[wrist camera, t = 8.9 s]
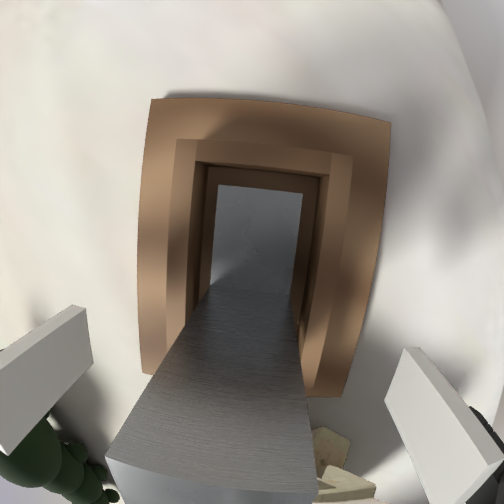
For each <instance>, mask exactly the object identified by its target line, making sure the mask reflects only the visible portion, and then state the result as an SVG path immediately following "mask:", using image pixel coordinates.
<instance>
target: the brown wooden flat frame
mask: <svg viewBox="0 0 504 504" xmlns="http://www.w3.org/2000/svg"><path fill="white" fill-rule="evenodd" d="M390 133H391V123H390V122H386V121H382V120H378V119H374V118H369V117H365V116H360V115H356V114H351V113H346V112H340V111H335V110H329V109H323V108H317V107H310V106H303V105H296V104H288V103H279V102H269V101H257V100H243V99H223V98H165V99H151V105H150V111H149V118H148V125H147V132H146V139H145V147H144V156H143V165H142V175H141V187H140V201H139V218H138V244H137V296H138V323H139V339H140V353H141V364H142V373H145V374H150V375H154V374H155V372H156V370H157V369H158V367H159V366H160V364H161V362H162V361H163V359H164V358H165V356H166V354H167V353H168V351H169V350H170V348H171V346H172V345H173V343H174V342H175V340H176V338H177V337H178V335H179V334H180V332H181V330H182V329H183V327H184V326H185V324H186V323H187V321H188V319H189V318H190V316H191V315H192V313H193V311H194V310H195V308H196V307H197V305H198V304H199V302H200V301H201V299H202V297H203V296H204V294H205V293H206V291H207V290H208V288H209V286H210V280H211V266H212V252H213V240H214V228H215V217H216V206H217V195H218V185H227V186H238V187H248V188H258V189H267V190H276V191H285V192H293V193H301V194H303V197H302V206H301V214H300V222H299V230H298V238H297V246H296V253H295V260H294V267H293V275H292V281H291V288H290V301H291V307H292V312H293V318H294V324H295V330H296V336H297V342H298V348H299V354H300V361H301V367H302V373H303V380H304V386H305V393H306V397H341V395H342V392H343V389H344V386H345V383H346V380H347V376H348V373H349V370H350V367H351V363H352V360H353V357H354V353H355V350H356V346H357V342H358V339H359V335H360V331H361V327H362V323H363V319H364V315H365V311H366V307H367V302H368V298H369V294H370V289H371V284H372V279H373V274H374V269H375V264H376V258H377V253H378V247H379V241H380V234H381V228H382V221H383V213H384V205H385V197H386V188H387V177H388V166H389V152H390Z"/></svg>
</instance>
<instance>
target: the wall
mask: <svg viewBox="0 0 504 504" xmlns="http://www.w3.org/2000/svg"><path fill="white" fill-rule="evenodd" d="M311 435H312V442H313V450H314V457H315V465H316V473H317V482H318V490H319V493H318V494H317V496H316V498H315V499H314V501H313V503H312V504H390V503H387V502H381V501H379V500H376V499H374V494H375V491H376V486H375V484H373V483H372V482H370V481H366V480H365V479H363V478H361V477H358V476H357V475H354V474H352V473H350V472H348V471H344V470H343V466H344V463H345V460H346V457H347V453H348V450H349V447H350V441H349V440H348V439H347V438H345V437H343V436H341V435H339V434H337V433H336V432H334V431H331V430H330V429H328V428H326V427H324V426H323V427H319V428H316V429H314V430H311Z"/></svg>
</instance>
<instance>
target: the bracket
mask: <svg viewBox="0 0 504 504" xmlns="http://www.w3.org/2000/svg"><path fill="white" fill-rule="evenodd" d="M302 197H303V194H301V193H293V192H285V191H276V190H267V189H258V188H248V187H238V186H227V185H218V195H217V206H216V217H215V228H214V240H213V252H212V266H211V280H210V286H209V288H208V290H207V291H206V293H205V294H204V296H203V297H202V299H201V301H200V302H199V304H198V305H197V307H196V308H195V310H194V311H193V313H192V315H191V316H190V318H189V319H188V321H187V323H186V324H185V326H184V327H183V329H182V330H181V332H180V334H179V335H178V337H177V338H176V340H175V342H174V343H173V345H172V346H171V348H170V350H169V351H168V353H167V354H166V356H165V358H164V359H163V361H162V362H161V364H160V366H159V367H158V369H157V370H156V372H155V374H154V375H153V377H152V378H151V380H150V382H149V383H148V385H147V387H146V388H145V390H144V391H143V393H142V395H141V396H140V398H139V400H138V401H137V403H136V404H135V406H134V408H133V409H132V411H131V413H130V414H129V416H128V418H127V419H126V421H125V423H124V424H123V426H122V428H121V429H120V431H119V433H118V434H117V436H116V438H115V439H114V441H113V443H112V444H111V446H110V448H109V449H108V451H107V453H106V454H105V456H104V457H105V459H106V462H107V464H108V467H109V469H110V471H111V474H112V476H113V478H114V481H115V483H116V485H117V487H118V490H119V492H120V494H121V496H122V498H123V500H124V502H125V504H312V503H313V501H314V499H315V498H316V496H317V494H318V493H319V490H318V482H317V473H316V465H315V457H314V450H313V442H312V435H311V428H310V420H309V413H308V406H307V400H306V393H305V386H304V380H303V373H302V367H301V361H300V354H299V348H298V342H297V336H296V330H295V324H294V318H293V312H292V307H291V301H290V288H291V281H292V275H293V267H294V260H295V253H296V246H297V238H298V230H299V222H300V214H301V206H302Z"/></svg>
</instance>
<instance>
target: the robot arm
mask: <svg viewBox="0 0 504 504" xmlns="http://www.w3.org/2000/svg"><path fill="white" fill-rule="evenodd" d="M92 364H93V357H92V351H91V345H90V338H89V331H88V323H87V315H86V308H83V307H79V306H75V305H71V306H69V307H68V308H66V309H65V310H63V311H61V312H60V313H58V314H57V315H55V316H54V317H52V318H50V319H49V320H47V321H46V322H44V323H43V324H41V325H40V326H38V327H37V328H35V329H34V330H32V331H31V332H29V333H28V334H26V335H25V336H23V337H22V338H20V339H19V340H17V341H16V342H14V343H13V344H11V345H10V346H8V347H7V348H5V349H2V350H0V450H1V451H2V452H3V453H5V454H6V455H7V456H9V455H10V453H11V452H12V451H13V450H14V449H15V448H16V447H17V445H18V444H19V443H20V442H21V441H22V440H23V439H24V437H25V436H26V435H27V434H28V433H29V432H30V431H31V430H32V429H33V427H34V426H35V425H36V424H37V423H38V422H39V421H40V420H41V419H42V418H43V416H44V415H45V414H46V413H47V412H48V411H49V410H50V409H51V408H52V407H53V406H54V404H55V403H56V402H57V401H58V400H59V399H60V398H61V397H62V396H63V395H64V394H65V393H66V392H67V391H68V389H69V388H70V387H71V386H72V385H73V384H74V383H75V382H76V381H77V380H78V379H79V378H80V377H81V376H82V375H83V374H84V373H85V372H86V371H87V370H88V369H89V367H90V366H91V365H92ZM384 402H385V404H386V406H387V408H388V410H389V412H390V414H391V416H392V419H393V421H394V423H395V425H396V427H397V429H398V431H399V434H400V436H401V438H402V440H403V442H404V445H405V447H406V449H407V451H408V454H409V456H410V458H411V460H412V463H413V465H414V467H415V470H416V472H417V474H418V477H419V479H420V481H421V484H422V486H423V489H424V491H425V493H426V496H427V498H428V501H429V503H430V504H465V503H466V504H504V443H503V442H502V441H501V439H500V438H499V436H498V435H497V434H496V433H495V432H493V428H492V427H491V426H490V425H489V424H488V422H487V421H486V419H485V418H484V417H483V416H482V414H481V413H479V412H478V411H477V410H475V409H474V408H472V407H471V406H469V407H468V406H467V404H466V403H465V402H464V400H463V399H462V398H461V397H460V395H459V394H458V393H457V392H456V390H455V389H454V388H453V387H452V386H451V384H450V383H449V382H448V381H447V379H446V378H445V377H444V376H443V375H442V373H441V372H440V371H439V370H438V369H437V367H436V366H435V365H434V364H433V363H432V361H431V360H430V359H429V358H428V357H427V356H426V354H425V353H424V352H423V351H422V350H421V349H420V347H404V349H403V352H402V355H401V358H400V361H399V364H398V366H397V369H396V372H395V374H394V377H393V380H392V382H391V385H390V387H389V390H388V392H387V395H386V397H385V399H384Z"/></svg>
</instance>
